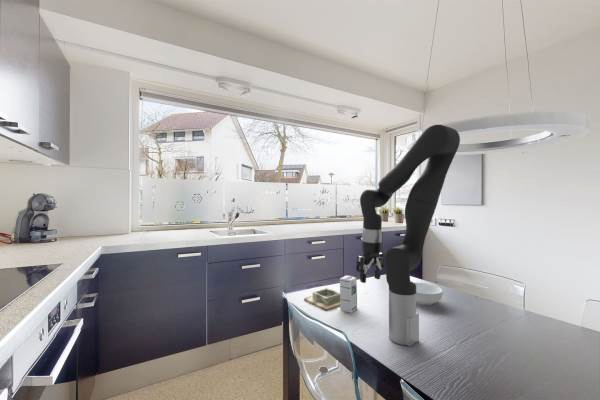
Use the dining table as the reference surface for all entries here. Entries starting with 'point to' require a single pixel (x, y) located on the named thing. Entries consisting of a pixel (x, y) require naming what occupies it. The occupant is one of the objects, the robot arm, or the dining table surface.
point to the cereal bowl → (427, 294)
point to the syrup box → (348, 293)
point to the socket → (325, 299)
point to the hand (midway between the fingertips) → (370, 280)
